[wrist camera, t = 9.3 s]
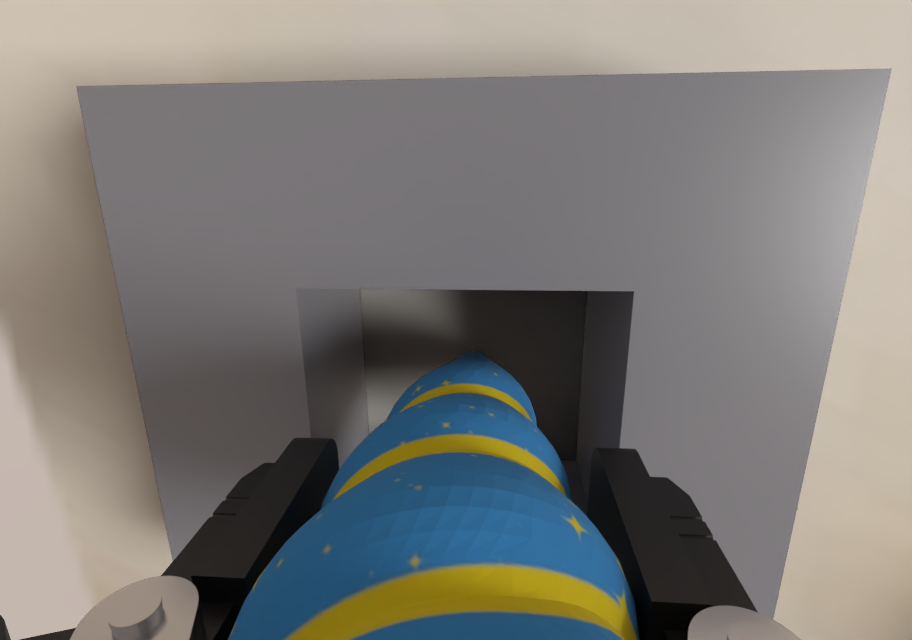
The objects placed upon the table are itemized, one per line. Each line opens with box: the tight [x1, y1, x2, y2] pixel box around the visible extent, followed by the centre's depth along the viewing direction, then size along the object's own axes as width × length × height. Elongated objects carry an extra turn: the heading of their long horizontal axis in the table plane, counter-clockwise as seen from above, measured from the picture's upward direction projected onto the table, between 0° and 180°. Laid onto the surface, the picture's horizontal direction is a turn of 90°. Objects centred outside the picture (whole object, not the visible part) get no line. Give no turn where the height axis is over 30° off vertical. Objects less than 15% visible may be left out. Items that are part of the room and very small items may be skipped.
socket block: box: [76, 69, 891, 619], centre depth 14 cm, size 15×15×5 cm
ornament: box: [228, 351, 640, 640], centre depth 9 cm, size 5×5×15 cm
